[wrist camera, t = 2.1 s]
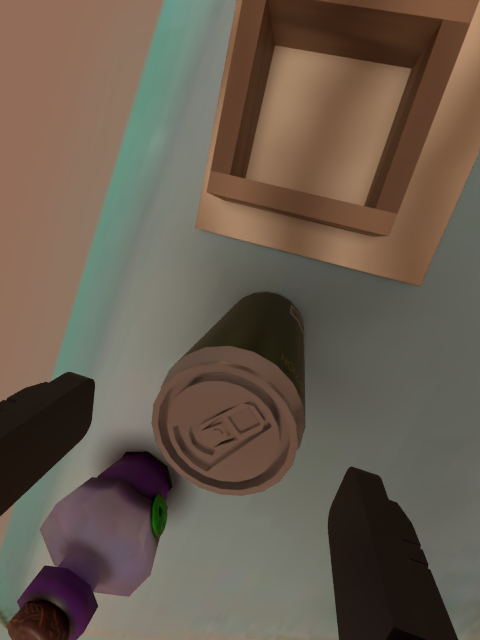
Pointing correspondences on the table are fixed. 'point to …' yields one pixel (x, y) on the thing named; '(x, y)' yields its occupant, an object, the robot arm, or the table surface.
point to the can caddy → (345, 129)
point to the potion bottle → (95, 547)
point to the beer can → (237, 400)
